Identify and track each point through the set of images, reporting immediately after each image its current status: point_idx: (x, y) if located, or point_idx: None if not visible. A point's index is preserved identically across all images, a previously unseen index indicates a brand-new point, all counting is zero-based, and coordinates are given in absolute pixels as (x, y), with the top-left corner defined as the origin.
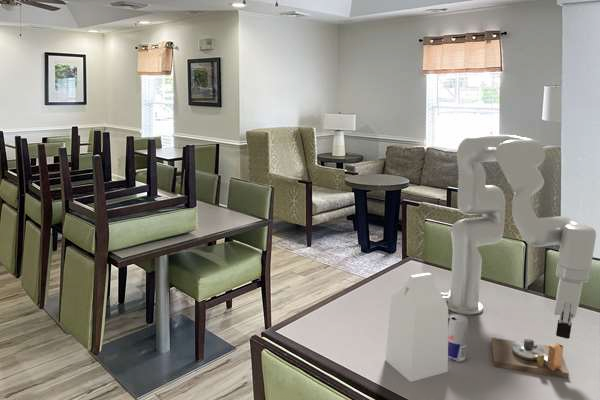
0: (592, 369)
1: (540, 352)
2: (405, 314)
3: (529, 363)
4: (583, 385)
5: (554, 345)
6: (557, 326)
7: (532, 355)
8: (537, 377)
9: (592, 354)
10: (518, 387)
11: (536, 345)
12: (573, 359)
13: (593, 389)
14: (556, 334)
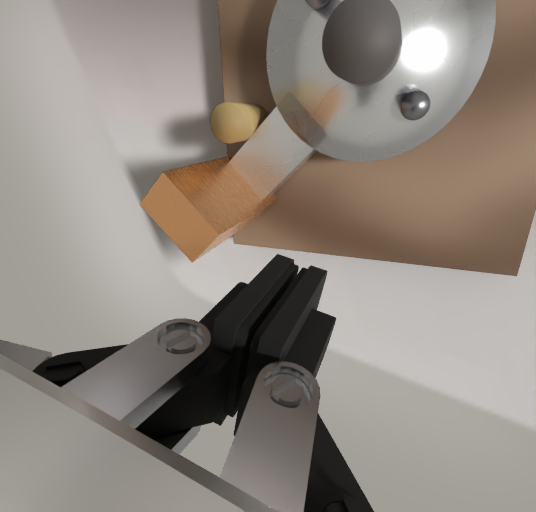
0: (351, 351)
1: (326, 133)
2: None
3: (259, 63)
4: (218, 274)
5: (178, 207)
6: (240, 294)
7: (268, 75)
8: (206, 105)
9: (510, 412)
10: (98, 10)
11: (414, 115)
12: (432, 310)
13: (206, 297)
14: (274, 258)
